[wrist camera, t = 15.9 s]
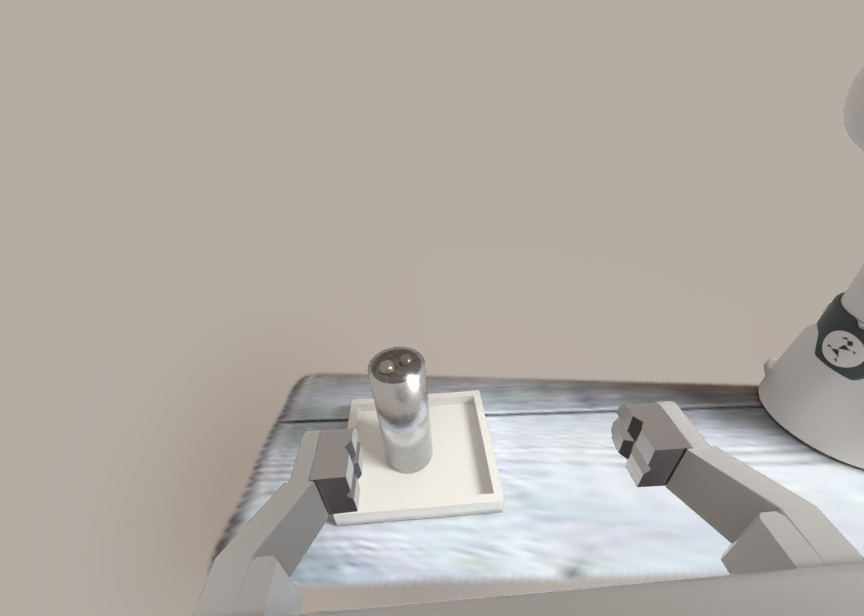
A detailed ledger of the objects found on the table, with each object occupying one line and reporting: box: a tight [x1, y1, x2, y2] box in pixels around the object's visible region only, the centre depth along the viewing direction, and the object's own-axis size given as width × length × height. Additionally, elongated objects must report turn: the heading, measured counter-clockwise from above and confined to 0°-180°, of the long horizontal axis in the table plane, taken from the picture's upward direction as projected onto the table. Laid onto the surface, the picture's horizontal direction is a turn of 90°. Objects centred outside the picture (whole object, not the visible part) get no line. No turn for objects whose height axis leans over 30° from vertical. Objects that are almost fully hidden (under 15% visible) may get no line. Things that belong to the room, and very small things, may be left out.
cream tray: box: [333, 390, 504, 526], centre depth 40 cm, size 16×14×2 cm
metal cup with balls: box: [368, 347, 433, 474], centre depth 36 cm, size 5×5×14 cm
